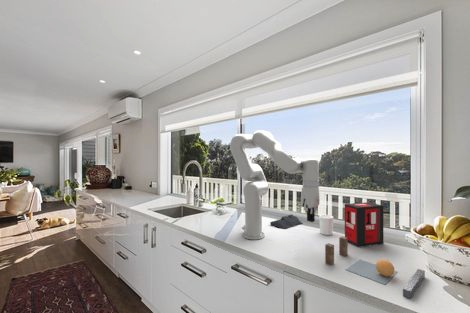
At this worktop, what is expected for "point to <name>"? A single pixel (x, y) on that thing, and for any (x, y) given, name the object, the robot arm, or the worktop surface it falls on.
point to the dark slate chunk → (286, 222)
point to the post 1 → (329, 254)
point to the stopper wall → (413, 284)
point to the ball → (385, 267)
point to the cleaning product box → (364, 224)
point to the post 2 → (343, 246)
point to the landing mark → (369, 271)
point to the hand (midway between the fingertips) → (310, 221)
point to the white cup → (326, 224)
